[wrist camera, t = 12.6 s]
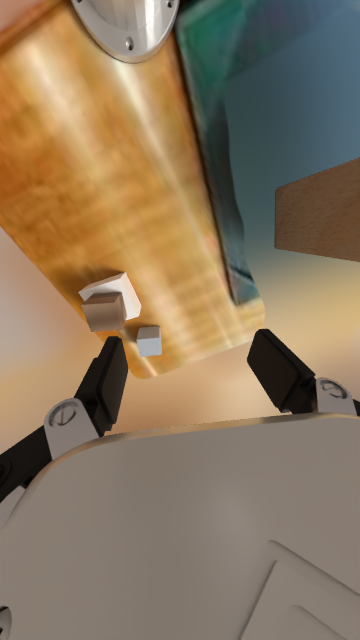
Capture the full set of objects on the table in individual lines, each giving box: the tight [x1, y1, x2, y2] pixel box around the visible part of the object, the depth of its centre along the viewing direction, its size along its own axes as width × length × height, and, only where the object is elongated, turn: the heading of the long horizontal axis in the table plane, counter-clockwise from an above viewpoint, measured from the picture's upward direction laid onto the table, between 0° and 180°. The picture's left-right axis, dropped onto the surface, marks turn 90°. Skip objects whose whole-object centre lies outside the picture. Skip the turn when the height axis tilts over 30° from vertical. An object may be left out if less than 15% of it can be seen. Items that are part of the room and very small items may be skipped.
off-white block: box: [78, 272, 141, 320], centre depth 31 cm, size 8×8×5 cm
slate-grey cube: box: [137, 326, 162, 357], centre depth 37 cm, size 5×5×5 cm
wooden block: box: [275, 157, 360, 262], centre depth 20 cm, size 10×10×20 cm
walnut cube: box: [81, 292, 127, 332], centre depth 27 cm, size 5×5×5 cm
